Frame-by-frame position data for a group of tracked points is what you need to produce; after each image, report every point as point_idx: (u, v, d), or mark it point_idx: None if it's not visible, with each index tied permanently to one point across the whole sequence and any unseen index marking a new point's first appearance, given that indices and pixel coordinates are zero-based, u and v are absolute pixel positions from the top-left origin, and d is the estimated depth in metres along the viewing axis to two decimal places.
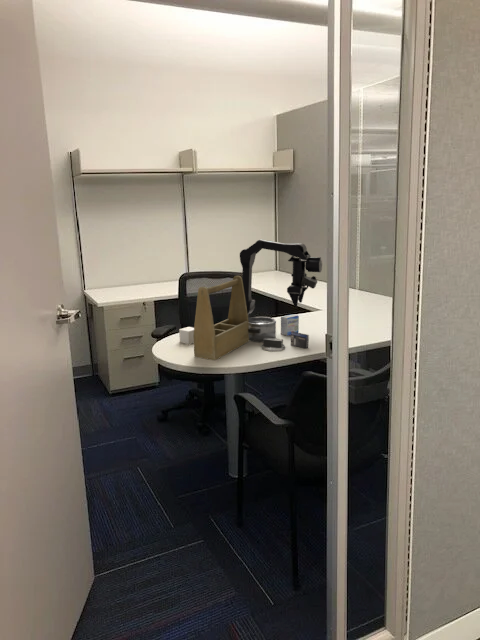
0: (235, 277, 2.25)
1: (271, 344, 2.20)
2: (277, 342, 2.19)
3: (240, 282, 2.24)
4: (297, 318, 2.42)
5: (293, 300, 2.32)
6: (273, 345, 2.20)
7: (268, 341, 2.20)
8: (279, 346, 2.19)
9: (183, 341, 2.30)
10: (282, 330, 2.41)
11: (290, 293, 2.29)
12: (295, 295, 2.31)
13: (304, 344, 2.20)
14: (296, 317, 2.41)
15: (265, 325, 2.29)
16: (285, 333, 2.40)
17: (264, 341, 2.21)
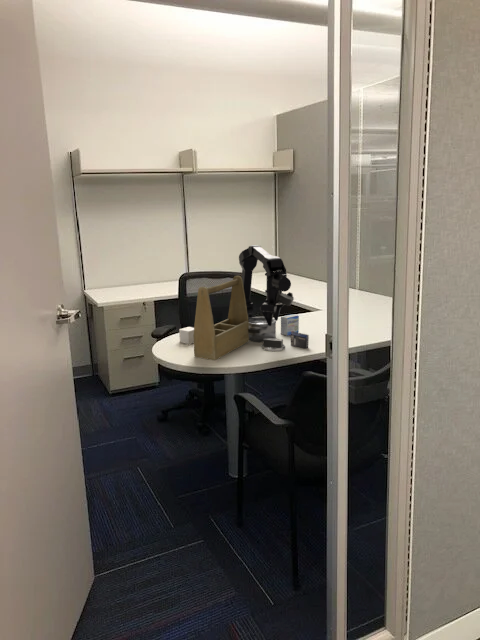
0: (235, 277, 2.25)
1: (271, 344, 2.20)
2: (277, 342, 2.19)
3: (240, 282, 2.24)
4: (297, 318, 2.42)
5: (267, 319, 2.14)
6: (273, 345, 2.20)
7: (268, 341, 2.20)
8: (279, 346, 2.19)
9: (183, 341, 2.30)
10: (282, 330, 2.41)
11: (263, 311, 2.11)
12: (269, 313, 2.13)
13: (304, 344, 2.20)
14: (296, 317, 2.41)
15: (265, 325, 2.29)
16: (285, 333, 2.40)
17: (264, 341, 2.21)
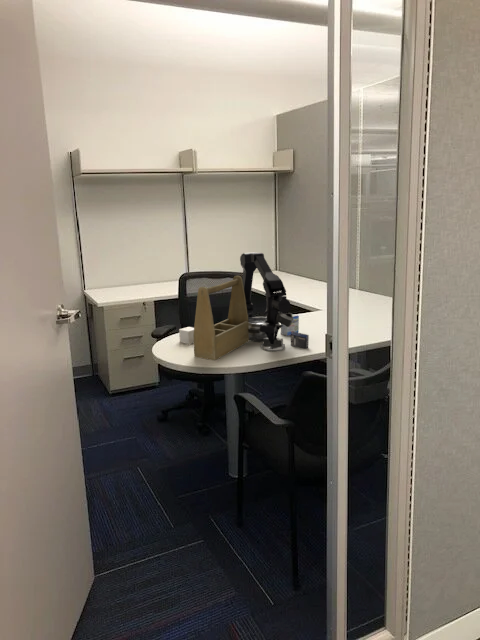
0: (235, 277, 2.25)
1: None
2: (277, 341, 2.19)
3: (240, 282, 2.24)
4: (297, 318, 2.42)
5: (269, 337, 2.18)
6: (273, 344, 2.20)
7: (268, 340, 2.20)
8: (279, 345, 2.19)
9: (183, 341, 2.30)
10: (282, 330, 2.41)
11: None
12: (271, 332, 2.17)
13: (304, 344, 2.20)
14: (296, 317, 2.41)
15: None
16: (285, 333, 2.40)
17: (264, 340, 2.21)
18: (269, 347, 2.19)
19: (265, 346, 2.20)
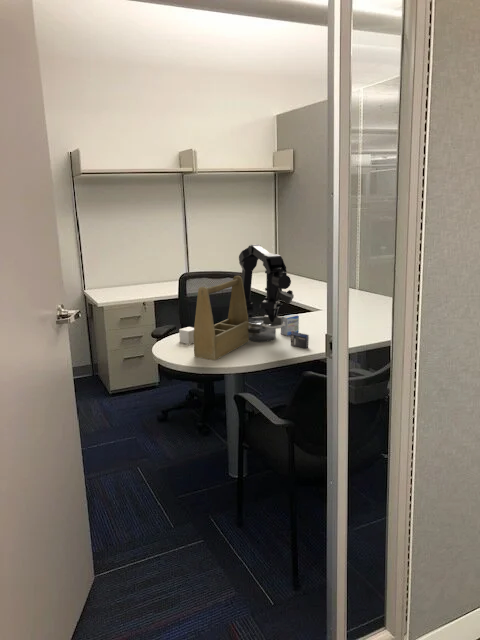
0: (235, 277, 2.25)
1: None
2: (277, 319, 2.16)
3: (240, 282, 2.24)
4: (297, 318, 2.42)
5: (269, 315, 2.16)
6: (273, 322, 2.17)
7: (268, 318, 2.18)
8: (279, 323, 2.17)
9: (183, 341, 2.30)
10: (282, 330, 2.41)
11: None
12: (271, 310, 2.15)
13: (304, 344, 2.20)
14: (296, 317, 2.41)
15: None
16: (285, 333, 2.40)
17: (264, 318, 2.18)
18: (269, 325, 2.16)
19: (265, 324, 2.18)
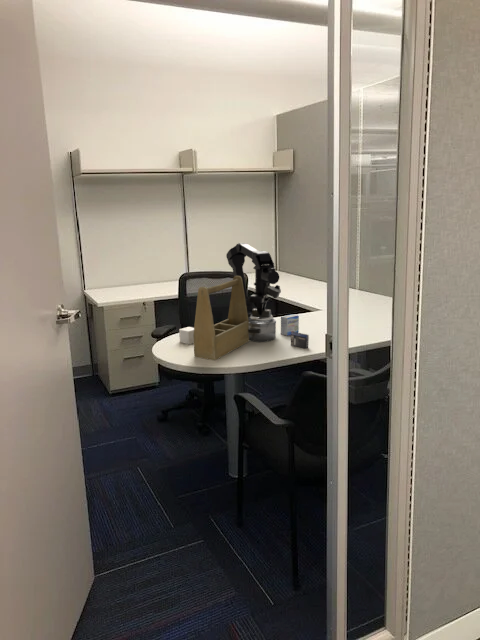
0: (235, 277, 2.25)
1: None
2: (265, 312, 2.30)
3: (240, 282, 2.24)
4: (297, 318, 2.42)
5: (257, 308, 2.30)
6: (261, 315, 2.31)
7: (257, 311, 2.32)
8: (267, 316, 2.30)
9: (183, 341, 2.30)
10: (282, 330, 2.41)
11: None
12: (259, 303, 2.29)
13: (304, 344, 2.20)
14: (296, 317, 2.41)
15: (265, 325, 2.29)
16: (285, 333, 2.40)
17: (253, 311, 2.32)
18: (257, 317, 2.30)
19: (254, 317, 2.31)
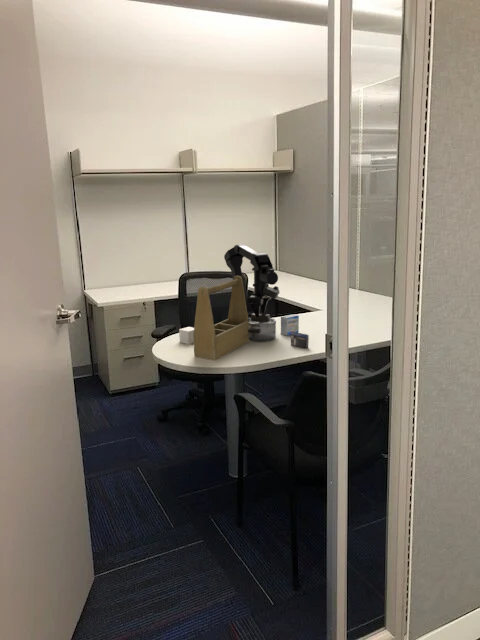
0: (235, 277, 2.25)
1: (258, 319, 2.34)
2: (264, 317, 2.32)
3: (240, 282, 2.24)
4: (297, 318, 2.42)
5: (254, 310, 2.29)
6: (260, 320, 2.33)
7: None
8: (266, 321, 2.32)
9: (183, 341, 2.30)
10: (282, 330, 2.41)
11: (251, 304, 2.26)
12: (256, 305, 2.28)
13: (304, 344, 2.20)
14: (296, 317, 2.41)
15: (265, 325, 2.29)
16: (285, 333, 2.40)
17: (252, 316, 2.34)
18: (256, 322, 2.32)
19: (253, 321, 2.33)
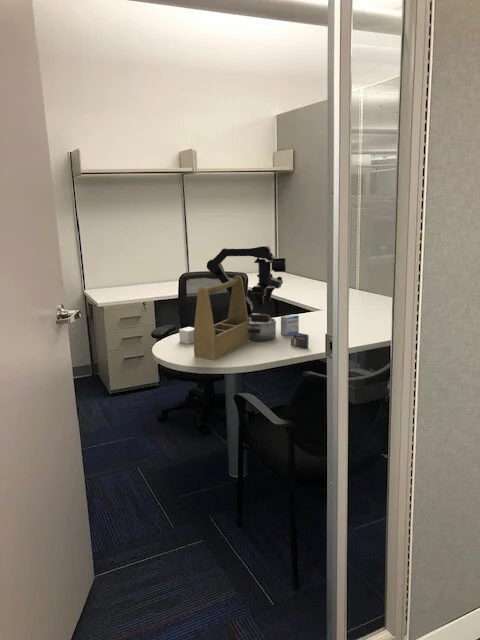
0: (235, 277, 2.25)
1: (258, 319, 2.34)
2: (264, 317, 2.32)
3: (240, 282, 2.24)
4: (297, 318, 2.42)
5: (258, 300, 2.41)
6: (260, 320, 2.33)
7: (256, 316, 2.34)
8: (266, 320, 2.33)
9: (183, 341, 2.30)
10: (282, 330, 2.41)
11: (255, 293, 2.38)
12: (260, 295, 2.40)
13: (304, 344, 2.20)
14: (296, 317, 2.41)
15: (265, 325, 2.29)
16: (285, 333, 2.40)
17: (252, 316, 2.34)
18: (257, 322, 2.32)
19: (253, 321, 2.33)
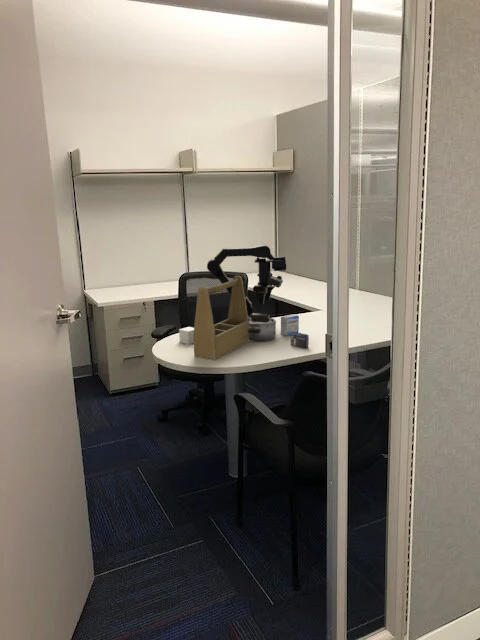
0: (235, 277, 2.25)
1: (258, 319, 2.34)
2: (264, 317, 2.32)
3: (240, 282, 2.24)
4: (297, 318, 2.42)
5: (259, 299, 2.43)
6: (260, 320, 2.33)
7: (256, 316, 2.34)
8: (266, 321, 2.33)
9: (183, 341, 2.30)
10: (282, 330, 2.41)
11: (256, 292, 2.40)
12: (261, 294, 2.42)
13: (304, 344, 2.20)
14: (296, 317, 2.41)
15: (265, 325, 2.29)
16: (285, 333, 2.40)
17: (252, 316, 2.34)
18: (256, 322, 2.32)
19: (253, 321, 2.33)
